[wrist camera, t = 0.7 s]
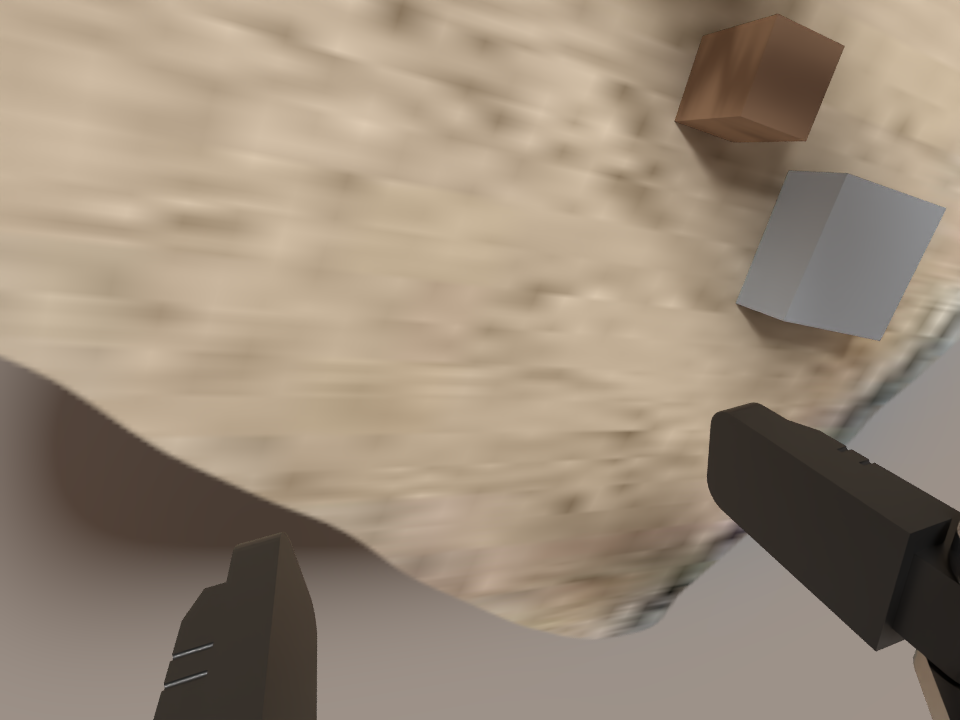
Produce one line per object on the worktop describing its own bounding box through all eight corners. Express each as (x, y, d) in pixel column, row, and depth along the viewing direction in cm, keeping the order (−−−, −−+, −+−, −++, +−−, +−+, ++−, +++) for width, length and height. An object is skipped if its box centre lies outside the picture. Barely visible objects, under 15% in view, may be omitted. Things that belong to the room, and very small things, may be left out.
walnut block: (702, 35, 32) (777, 13, 27) (762, 62, 34) (844, 46, 29) (674, 121, 34) (740, 116, 29) (732, 142, 36) (805, 141, 30)
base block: (785, 170, 38) (847, 173, 33) (878, 201, 41) (946, 208, 37) (733, 302, 41) (783, 321, 36) (823, 321, 44) (880, 340, 40)
